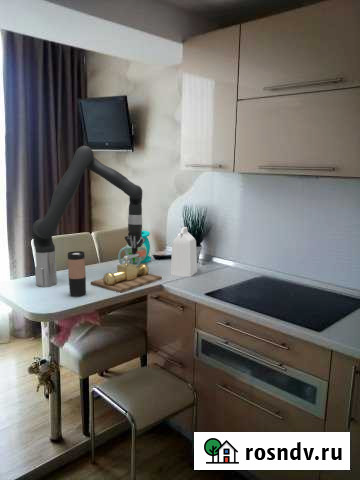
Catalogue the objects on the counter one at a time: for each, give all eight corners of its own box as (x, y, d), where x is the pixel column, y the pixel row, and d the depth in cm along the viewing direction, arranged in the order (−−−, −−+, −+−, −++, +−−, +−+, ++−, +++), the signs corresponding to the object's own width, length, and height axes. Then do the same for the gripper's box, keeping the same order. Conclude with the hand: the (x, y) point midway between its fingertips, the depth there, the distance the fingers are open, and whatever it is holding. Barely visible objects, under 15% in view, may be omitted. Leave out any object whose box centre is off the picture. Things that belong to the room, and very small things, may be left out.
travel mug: (72, 292, 186) (70, 251, 182) (88, 292, 186) (86, 251, 182) (67, 297, 178) (65, 254, 175) (83, 297, 178) (81, 254, 174)
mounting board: (120, 293, 184) (120, 289, 184) (90, 284, 198) (90, 281, 197) (162, 279, 208) (161, 276, 207) (132, 272, 221) (132, 270, 221)
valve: (153, 230, 248) (138, 245, 220) (154, 257, 254) (140, 274, 226) (132, 230, 251) (114, 244, 224) (133, 255, 257) (117, 273, 229)
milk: (190, 276, 212) (190, 229, 208) (170, 275, 216) (170, 228, 211) (197, 271, 223) (197, 226, 219) (178, 269, 227) (178, 225, 222)
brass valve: (111, 287, 189) (110, 265, 187) (101, 285, 194) (101, 263, 192) (150, 275, 211) (149, 255, 209) (140, 273, 215) (140, 253, 213)
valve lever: (122, 260, 200) (122, 255, 200) (141, 254, 213) (141, 249, 213) (127, 261, 198) (126, 255, 198) (145, 255, 212) (145, 250, 211)
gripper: (120, 222, 208) (120, 254, 211) (140, 224, 202) (140, 257, 205) (129, 221, 215) (129, 251, 218) (149, 223, 208) (148, 255, 211)
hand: (134, 254), depth 211 cm, fingers closed
